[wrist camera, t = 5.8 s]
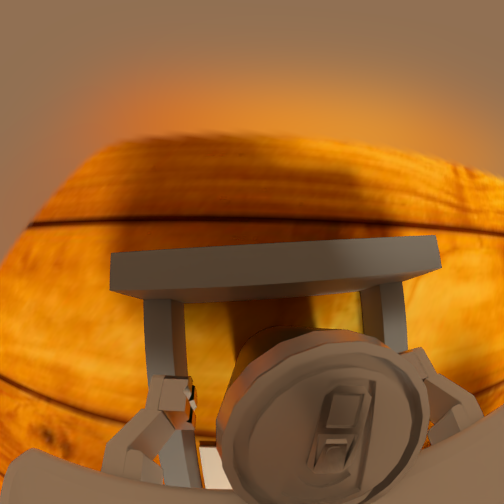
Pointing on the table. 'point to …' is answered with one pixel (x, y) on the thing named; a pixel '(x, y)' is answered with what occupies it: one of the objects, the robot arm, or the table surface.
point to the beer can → (319, 417)
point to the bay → (258, 288)
